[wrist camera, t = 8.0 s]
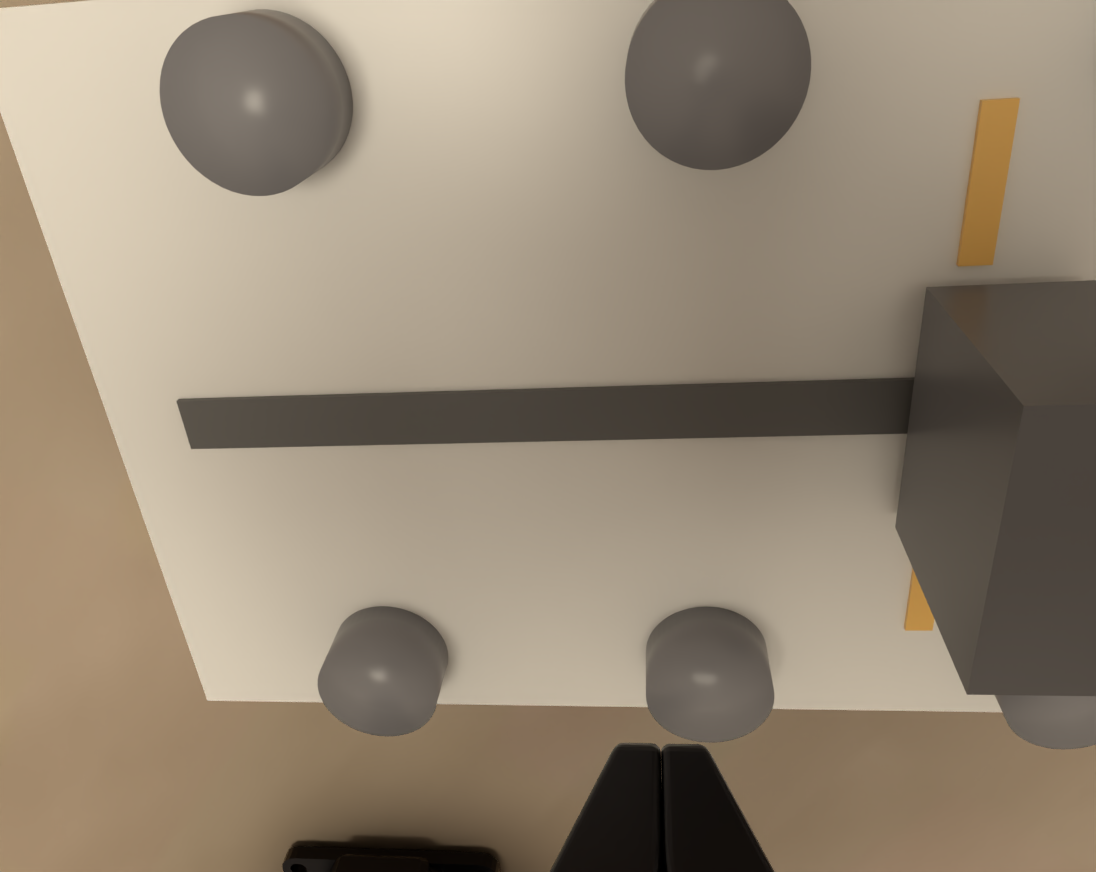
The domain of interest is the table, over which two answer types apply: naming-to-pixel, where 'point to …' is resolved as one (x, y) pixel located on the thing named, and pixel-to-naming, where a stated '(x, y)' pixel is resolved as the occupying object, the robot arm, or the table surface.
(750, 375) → the mixer console
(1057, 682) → the fader
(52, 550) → the table surface
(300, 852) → the robot arm
